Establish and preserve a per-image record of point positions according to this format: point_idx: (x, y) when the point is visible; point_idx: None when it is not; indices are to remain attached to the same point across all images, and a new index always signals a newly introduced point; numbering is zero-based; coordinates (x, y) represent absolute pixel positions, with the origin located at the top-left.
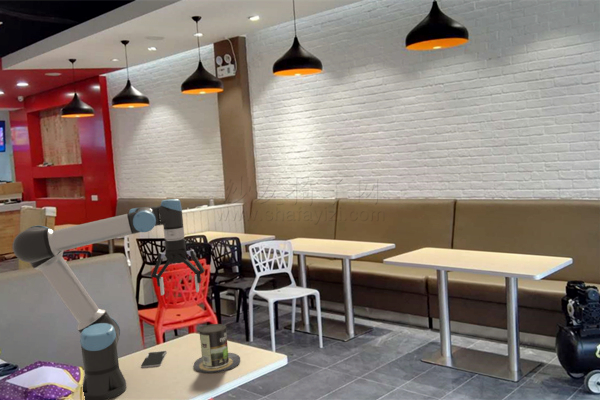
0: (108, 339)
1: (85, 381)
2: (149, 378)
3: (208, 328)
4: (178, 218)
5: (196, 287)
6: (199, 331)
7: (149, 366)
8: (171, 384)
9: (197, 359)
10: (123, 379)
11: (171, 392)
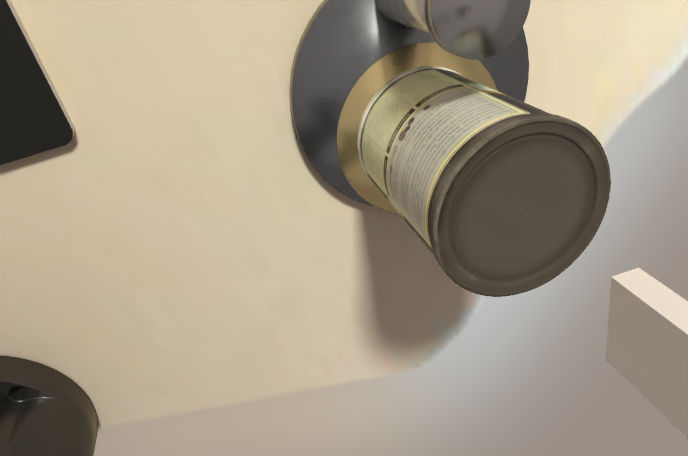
0: None
1: None
2: (125, 287)
3: (494, 215)
4: None
5: (671, 408)
6: (443, 269)
7: (13, 159)
8: (275, 322)
9: (294, 74)
10: (73, 431)
11: (309, 376)
